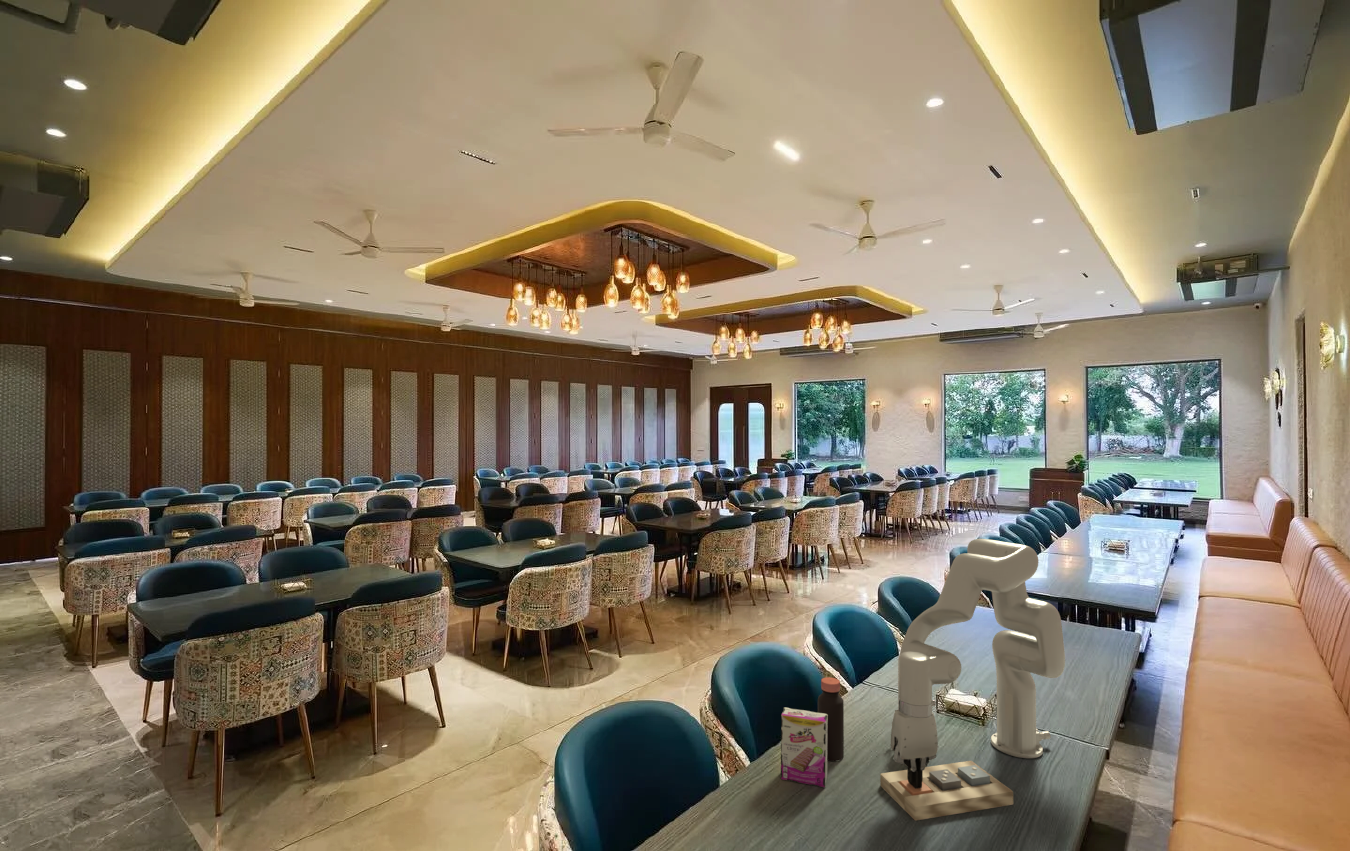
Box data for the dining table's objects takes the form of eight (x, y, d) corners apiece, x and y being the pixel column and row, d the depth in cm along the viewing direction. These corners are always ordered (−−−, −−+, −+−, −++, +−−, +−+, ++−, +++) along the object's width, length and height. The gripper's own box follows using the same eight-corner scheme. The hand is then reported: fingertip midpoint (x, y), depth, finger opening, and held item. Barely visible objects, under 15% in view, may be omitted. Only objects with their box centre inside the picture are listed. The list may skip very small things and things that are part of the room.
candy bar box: (780, 780, 154) (780, 714, 154) (783, 770, 158) (783, 706, 159) (826, 789, 150) (825, 721, 150) (828, 778, 155) (827, 712, 155)
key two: (975, 777, 152) (975, 764, 152) (990, 788, 147) (989, 775, 147) (957, 779, 151) (957, 767, 151) (972, 791, 146) (972, 778, 146)
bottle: (845, 763, 162) (844, 686, 162) (818, 760, 163) (818, 684, 163) (842, 750, 168) (842, 676, 169) (817, 747, 170) (817, 674, 170)
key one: (918, 790, 149) (918, 777, 149) (931, 802, 144) (931, 789, 144) (900, 793, 147) (900, 780, 147) (912, 805, 143) (912, 791, 143)
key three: (947, 781, 150) (947, 768, 150) (961, 793, 146) (961, 779, 146) (929, 784, 149) (929, 771, 149) (942, 795, 144) (942, 782, 144)
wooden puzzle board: (971, 772, 157) (971, 760, 157) (1013, 804, 144) (1013, 791, 144) (880, 785, 151) (880, 773, 151) (915, 820, 138) (915, 807, 138)
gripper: (932, 697, 151) (932, 772, 151) (877, 703, 148) (877, 780, 147) (952, 710, 144) (953, 789, 144) (896, 717, 140) (896, 798, 140)
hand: (914, 784), depth 145 cm, fingers closed
